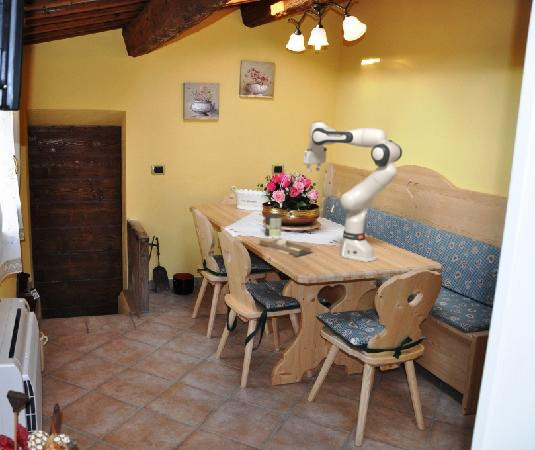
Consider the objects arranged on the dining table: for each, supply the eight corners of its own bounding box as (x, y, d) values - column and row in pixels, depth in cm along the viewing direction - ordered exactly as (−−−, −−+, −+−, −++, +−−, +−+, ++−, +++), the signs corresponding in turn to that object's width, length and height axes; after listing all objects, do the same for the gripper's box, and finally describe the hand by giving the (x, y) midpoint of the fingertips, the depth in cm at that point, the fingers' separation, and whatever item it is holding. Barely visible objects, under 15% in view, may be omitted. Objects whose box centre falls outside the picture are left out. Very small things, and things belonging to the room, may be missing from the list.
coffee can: (262, 235, 353) (263, 214, 350) (270, 233, 362) (271, 212, 358) (275, 238, 348) (277, 217, 345) (283, 235, 356) (284, 215, 353)
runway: (312, 253, 319) (313, 247, 318) (295, 257, 308) (295, 251, 307) (275, 242, 339) (275, 236, 338) (257, 246, 327) (257, 240, 326)
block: (285, 246, 327) (286, 239, 326) (279, 248, 322) (279, 240, 321) (278, 244, 330) (278, 237, 329) (271, 245, 326) (272, 238, 325)
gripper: (310, 149, 317) (308, 173, 320) (328, 148, 333) (326, 170, 336) (301, 148, 321) (299, 171, 324) (320, 147, 337) (318, 169, 340)
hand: (313, 171), depth 330 cm, fingers open, 8 cm apart
